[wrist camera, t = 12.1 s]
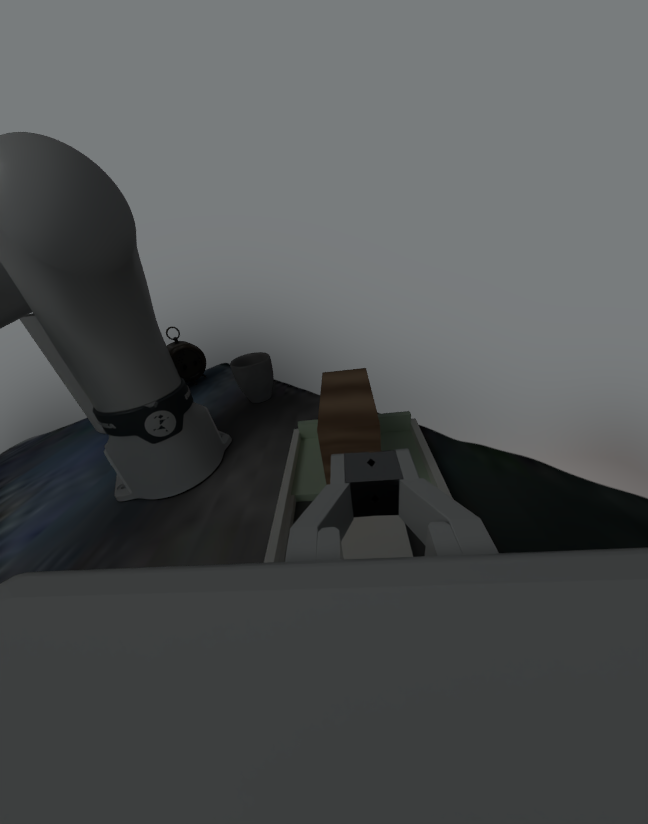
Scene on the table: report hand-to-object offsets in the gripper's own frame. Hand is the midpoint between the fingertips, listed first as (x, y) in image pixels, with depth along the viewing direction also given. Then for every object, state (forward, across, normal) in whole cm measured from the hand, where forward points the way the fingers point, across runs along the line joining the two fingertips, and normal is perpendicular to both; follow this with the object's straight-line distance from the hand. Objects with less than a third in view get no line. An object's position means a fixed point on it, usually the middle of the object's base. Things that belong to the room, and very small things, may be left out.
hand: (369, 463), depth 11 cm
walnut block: (+20, -1, -19) cm, 28 cm away
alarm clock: (+62, -45, -21) cm, 79 cm away
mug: (+49, -23, -21) cm, 58 cm away
